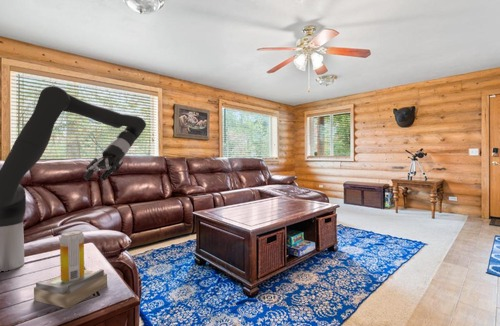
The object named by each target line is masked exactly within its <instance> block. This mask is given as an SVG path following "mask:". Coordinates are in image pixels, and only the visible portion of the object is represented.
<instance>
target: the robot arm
mask: <svg viewBox="0 0 500 326" xmlns="http://www.w3.org/2000/svg"><path fill="white" fill-rule="evenodd" d="M37 99H38V100H37V102H36V105H35V107H34V110H33V113H32V114H31V116H30V117H29V119H28V120H27V121H26V123H25V124H24V126H23V127H22V129H21V131H20V132H19V133H18V136H17V137H16V139H15V141H14V143H13V144H12V146H11V148H10V151H9V153H8V155H7V156H6V158H5V160H4V162H3V164H2V166H1V168H0V273H2V272H1V271H4V272H9V271H12V270H15V269H18V268H20V267H23V266H24V265H25V239H24V238H25V236H24V235H25V234H24V217H25V214H26V211H27V210H26V208H27V207H26V202H27V199H26V197H27V195H26V190H25V188H24V187H23V185H21V182H22V180H23V178H24V177H25V175H26V174H27V173H28V172H29V171H30V170H31V169H33V167H34V166H35V165H36V164H37V163H38V161H40V159H42V156H43V154H44V153H45V151H46V149H47V146H48V145H49V143H50V139H51V137H52V133H53V130H54V127H55V124H56V122H57V120H58V119H59V117H60V116H61V114H62V112H67V113H71V114H76V115H79V116H81V117H85V118H88V119H91V120H93V121H95V122H99V123H100V124H104V125H106V126H109V127H113V128H116V129H120V128H121V127H125V128H124V129H123V131H121V132H120V133H118V135H117V136H116V137H115V138H114V139H113V140H112V141H111V142H110V143H109V145H108V146H107V147H106V148H105V149H104V150H103V151H102V157H101V158H99V159H98V157H95V158H93V159H92V161H90V163H89V164H88V165H87V166H86V167H85V169H87V171H86V172H85V173H84V175H83V178H84V179H85V180H86V181H89V180H90V179H91V178H92V176H93V175H94V174H95V173H96V172H101V170H104V171H103V172H102V174H101V175H100V176H99V179H100V180H101V181H106V180H107V179H108V177H109V176H110V175H111V174H113V173H114V174H116V173H117V172H118V171H119V170H120V168H121V167H122V166H123V163H124V162H123V159H124V157H125V156H126V154H127V153H128V152H129V150H130V148H131V147H132V145H134V144H135V141H136V140H137V139H138V138H139V137H140V136H141V135H142V133H143V131H144V130H145V129H146V127H147V123H146V120H144V119H143V118H142V117H140V116H137V115H133V114H125V113H120V112H118V111H115V110H112V109H109V108H106V107H104V106H101V105H97V104H92V103H90V102H87V101H85V100H81V99H79V98H76V97H75V96H73V95H71V94H69V93H68V92H67V91H66V90H64V89H63V88H62V87H59V86H56V85H49V86H46V87H44V88H43V89H42V90H41V91H40V94H39V96H38V98H37ZM8 270H9V271H8Z"/></svg>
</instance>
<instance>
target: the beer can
mask: <svg viewBox="0 0 500 326" xmlns="http://www.w3.org/2000/svg"><path fill="white" fill-rule="evenodd" d="M84 235H85V234H84V232H83V230H68V231H65V232H62V233H61V235H60V237H59V253H60V254H59V255H60V256H59V257H60V258H59V259H60V262H59V263H60V275H61V281H63V282H64V283H72V282H76V281H78V280H80V279H81V278H82V277H83V276H84V270H85V236H84Z"/></svg>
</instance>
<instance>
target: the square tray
mask: <svg viewBox="0 0 500 326" xmlns="http://www.w3.org/2000/svg"><path fill="white" fill-rule="evenodd" d="M107 286H108V273H105V270H104V269H99V270H97V271H93V270H87V269H84V276H83V277H82V278H81V279H80V280H78V281H76V282H72V283H64V282H63V281H61V274H60V275H59V276H55V277H53V278H52V279H50V280H47V281H43V280H39V281H37V282H35V286H34V287H33V300H34V301H35V302H39V303H43V304H48V305H52V306H54V307H60V308H64V309H67V310H68V309H70V308H72V307H73V306H76V305H77V304H78V303H80V302H82V301H84V300H85V299H87V298H89V297H90V296H92V295H94V294H96V293H97V292H99V291H100V290H102V289H104V288H106V287H107Z"/></svg>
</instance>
